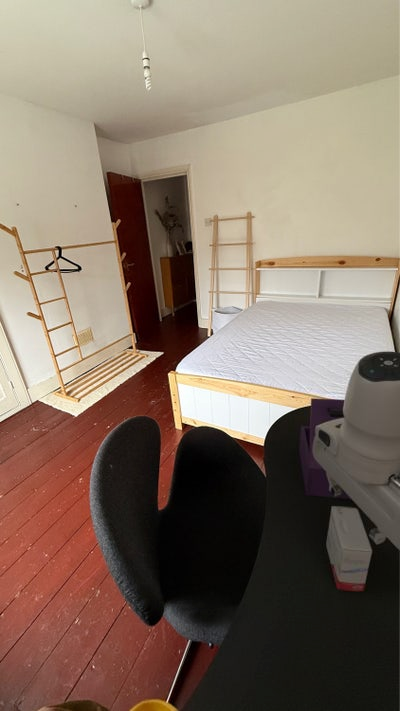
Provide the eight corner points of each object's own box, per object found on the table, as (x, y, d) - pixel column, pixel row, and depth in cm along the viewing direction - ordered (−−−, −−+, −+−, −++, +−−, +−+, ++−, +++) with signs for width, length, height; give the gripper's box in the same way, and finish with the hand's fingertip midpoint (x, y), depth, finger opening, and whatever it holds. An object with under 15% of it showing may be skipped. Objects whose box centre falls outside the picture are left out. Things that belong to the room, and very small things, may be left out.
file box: (299, 449, 87) (301, 426, 83) (345, 453, 85) (349, 428, 81) (306, 495, 73) (309, 468, 70) (361, 500, 71) (367, 473, 67)
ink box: (364, 593, 54) (375, 554, 49) (334, 589, 55) (343, 550, 50) (349, 545, 62) (358, 507, 57) (324, 543, 63) (330, 504, 58)
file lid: (311, 398, 68) (314, 403, 64) (370, 400, 66) (379, 405, 61) (309, 466, 70) (312, 476, 65) (367, 471, 67) (375, 482, 63)
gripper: (453, 502, 37) (425, 567, 43) (338, 412, 55) (329, 467, 61) (415, 519, 36) (391, 584, 42) (309, 421, 54) (303, 476, 60)
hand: (354, 514), depth 52 cm, fingers open, 8 cm apart
